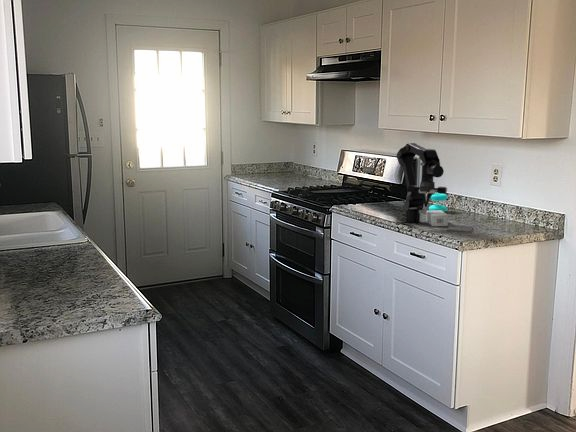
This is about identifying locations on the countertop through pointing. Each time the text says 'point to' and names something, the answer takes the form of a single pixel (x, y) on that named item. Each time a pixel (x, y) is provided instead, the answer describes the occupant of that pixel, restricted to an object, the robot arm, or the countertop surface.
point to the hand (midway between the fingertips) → (426, 206)
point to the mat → (460, 228)
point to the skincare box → (437, 218)
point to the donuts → (438, 198)
